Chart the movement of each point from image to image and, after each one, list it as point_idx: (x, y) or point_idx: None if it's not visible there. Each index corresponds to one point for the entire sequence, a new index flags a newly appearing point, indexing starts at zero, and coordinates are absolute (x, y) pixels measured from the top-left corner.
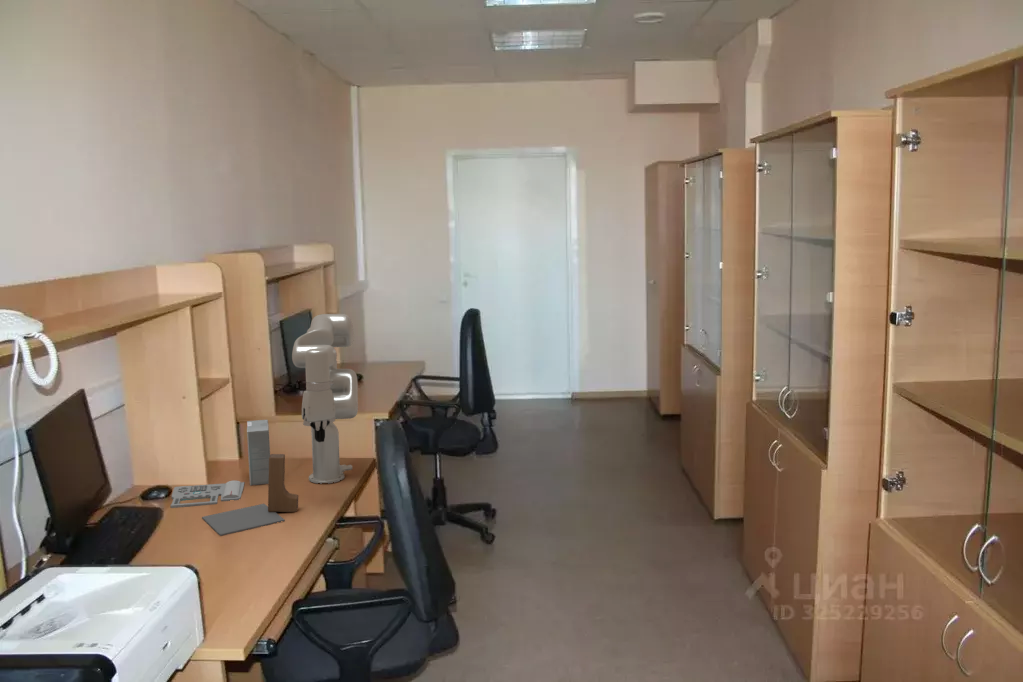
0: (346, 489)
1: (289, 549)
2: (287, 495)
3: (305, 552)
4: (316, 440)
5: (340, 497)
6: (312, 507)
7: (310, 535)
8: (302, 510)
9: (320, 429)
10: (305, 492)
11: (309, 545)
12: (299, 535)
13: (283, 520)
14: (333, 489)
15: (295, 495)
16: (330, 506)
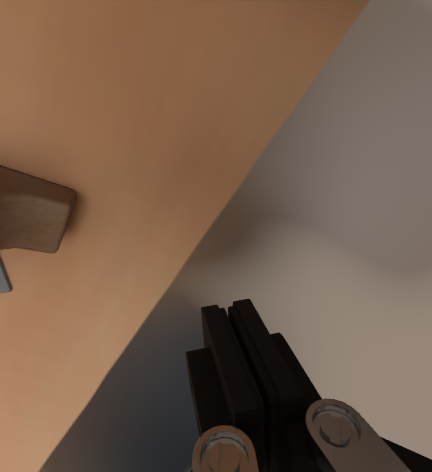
0: (296, 90)
1: (5, 448)
2: (11, 244)
3: (41, 465)
4: (202, 319)
5: (243, 164)
6: (127, 211)
7: (70, 396)
8: (87, 223)
9: (279, 450)
10: (147, 19)
11: (56, 440)
12: (42, 389)
13: (6, 291)
14: (259, 57)
15: (54, 222)
16: (183, 230)
